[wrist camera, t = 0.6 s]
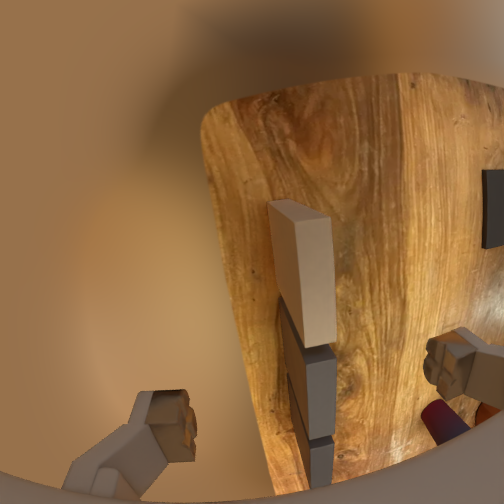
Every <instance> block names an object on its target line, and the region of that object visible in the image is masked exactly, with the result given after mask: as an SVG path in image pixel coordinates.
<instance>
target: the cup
mask: <svg viewBox="0 0 504 504" xmlns="http://www.w3.org/2000/svg"><path fill="white" fill-rule="evenodd" d="M421 419H422V421H423V422H424V424H425V426H426V427H427V429H428V431H429V432H430V434H431V436H432V437H433V439H434V441H435V442H436V444H437V446H439V445H441V444H443V443H445V442H447V441H449V440H451V439H453V438H455V437H457V436H459V435H461V434H463V433H464V432H466V431H468V430H470V429H471V428H470V427H469V426H468V425H467V424H466V423H465V422H464V421H463V420H462V419H461V418H460V417H459V416H458V415H457V414H456V413H455V412H454V411H453V410H452V409H451V408H450V407H449V406H448V405H447V404H446V403H445V402H444V401H443V400H441V399H438V400H435V401H433V402H432V403H430V404H429V405H428V406H427V407H426V408H425V409H424V411H423V412H422V415H421Z"/></svg>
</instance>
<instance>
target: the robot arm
mask: <svg viewBox="0 0 504 504" xmlns="http://www.w3.org/2000/svg"><path fill="white" fill-rule="evenodd" d="M426 350H427V352H428V355H427V356H426V358H425V359H424V364H423V370H424V375H425V377H426V379H427V381H428V382H429V383H430V384H433V385H436V386H437V390H436V391H437V392H438V393H439V394H440V395H441V396H442V398H443V399H444V400H445V401H448V400H450V399H452V398H455V397H457V396H459V395H461V394H464V395H467V396H469V397H471V398H474V399H476V400H478V401H481V402H483V403H485V404H488V405H490V406H493V407H495V408H497V409H500V410H501V411H500V412H498V413H497V414H495V415H494V416H492V417H490V418H489V419H487V420H485V421H484V422H482V423H480V424H479V425H477V426H475V427H473V428H472V429H470V430H468V431H466V432H464V433H463V434H461V435H459V436H457V437H455V438H453V439H451V440H449V441H447V442H445V443H443V444H441V445H439V446H437V447H435V448H432V449H430V450H428V451H426V452H424V453H421V454H419V455H417V456H414V457H412V458H410V459H407V460H405V461H402V462H400V463H397V464H394V465H392V466H389V467H386V468H383V469H380V470H378V471H375V472H372V473H369V474H366V475H362V476H359V477H356V478H352V479H349V480H345V481H342V482H338V483H334V484H330V485H326V486H322V487H318V488H314V489H309V490H304V491H299V492H294V493H289V494H283V495H277V496H270V497H264V498H256V499H247V500H237V501H224V502H205V503H165V502H145V501H141V500H140V497H141V496H142V495H143V494H144V493H145V492H146V490H147V489H148V488H149V487H150V486H151V485H152V483H153V482H154V481H155V480H156V479H157V477H158V476H159V475H160V474H161V473H162V471H163V470H164V469H165V468H166V467H167V465H168V463H174V462H192V461H195V453H196V445H195V442H194V440H193V439H194V438H195V437H196V436H197V423H196V417H195V413H194V410H193V409H192V408H191V407H190V406H189V400H190V398H189V396H188V393H187V391H186V390H185V389H180V390H158V391H141V392H139V393H138V395H137V398H136V401H135V404H134V406H133V409H132V412H131V415H130V418H129V421H128V424H123V425H122V426H121V427H119V428H118V429H116V430H115V431H114V432H113V433H111V434H110V435H108V436H107V437H106V438H104V439H103V440H102V441H100V442H99V443H98V444H96V445H95V446H94V447H92V448H91V449H89V450H88V451H87V452H85V453H84V454H83V455H81V456H80V457H78V458H77V459H76V460H75V461H73V462H72V464H71V466H70V469H69V471H68V473H67V476H66V478H65V481H64V483H63V486H62V488H61V489H58V488H54V487H50V486H46V485H42V484H39V483H35V482H31V481H28V480H25V479H22V478H19V477H16V476H13V475H9V474H7V473H4V472H1V471H0V504H504V346H500V345H495V344H490V345H488V344H487V343H485V342H484V341H483V340H481V339H480V338H479V337H477V336H476V335H474V334H473V333H472V332H470V331H469V330H468V329H466V328H465V327H459V328H456V329H454V330H451V331H450V332H447V333H444V334H442V335H439V336H436V337H433V338H430V339H429V340H428V342H427V345H426Z"/></svg>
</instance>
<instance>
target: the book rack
mask: <svg viewBox="0 0 504 504" xmlns="http://www.w3.org/2000/svg"><path fill="white" fill-rule="evenodd" d="M482 179H483V236H482V248H484V249H490V248H494V247H498V246H502V245H504V170H482Z"/></svg>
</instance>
